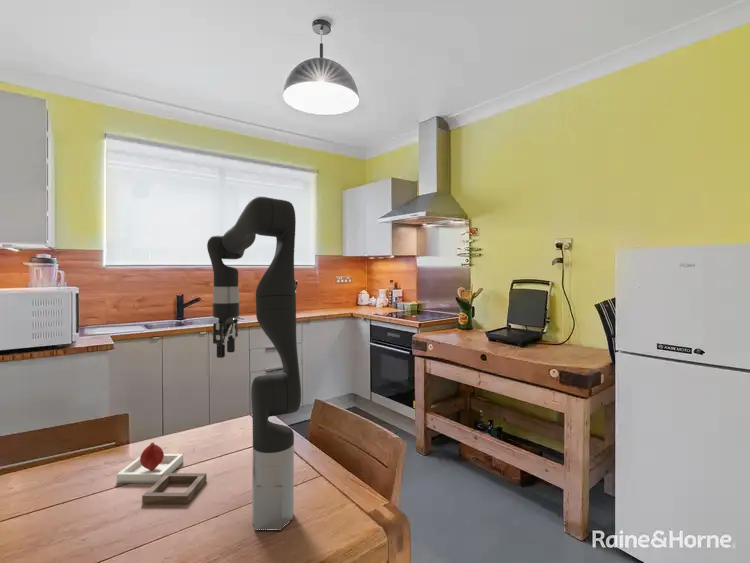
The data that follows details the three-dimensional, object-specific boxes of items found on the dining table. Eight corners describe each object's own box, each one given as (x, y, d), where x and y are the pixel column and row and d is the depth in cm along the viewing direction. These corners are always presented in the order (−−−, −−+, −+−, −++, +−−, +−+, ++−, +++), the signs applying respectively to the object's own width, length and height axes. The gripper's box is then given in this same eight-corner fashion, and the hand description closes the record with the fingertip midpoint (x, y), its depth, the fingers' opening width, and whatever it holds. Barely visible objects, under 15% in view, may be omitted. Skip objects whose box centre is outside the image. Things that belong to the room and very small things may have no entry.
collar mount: (187, 504, 95) (187, 496, 95) (142, 503, 95) (142, 495, 95) (206, 480, 106) (206, 473, 106) (166, 480, 106) (166, 473, 106)
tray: (161, 483, 105) (161, 474, 105) (116, 483, 105) (116, 474, 105) (183, 462, 117) (183, 454, 117) (143, 461, 117) (143, 453, 117)
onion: (135, 472, 110) (135, 443, 109) (155, 463, 115) (155, 436, 115) (148, 477, 107) (148, 448, 107) (167, 468, 112) (168, 440, 112)
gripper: (230, 302, 112) (230, 359, 112) (245, 300, 126) (245, 350, 126) (204, 302, 111) (203, 359, 111) (222, 300, 126) (222, 350, 126)
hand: (226, 354), depth 119 cm, fingers open, 8 cm apart
